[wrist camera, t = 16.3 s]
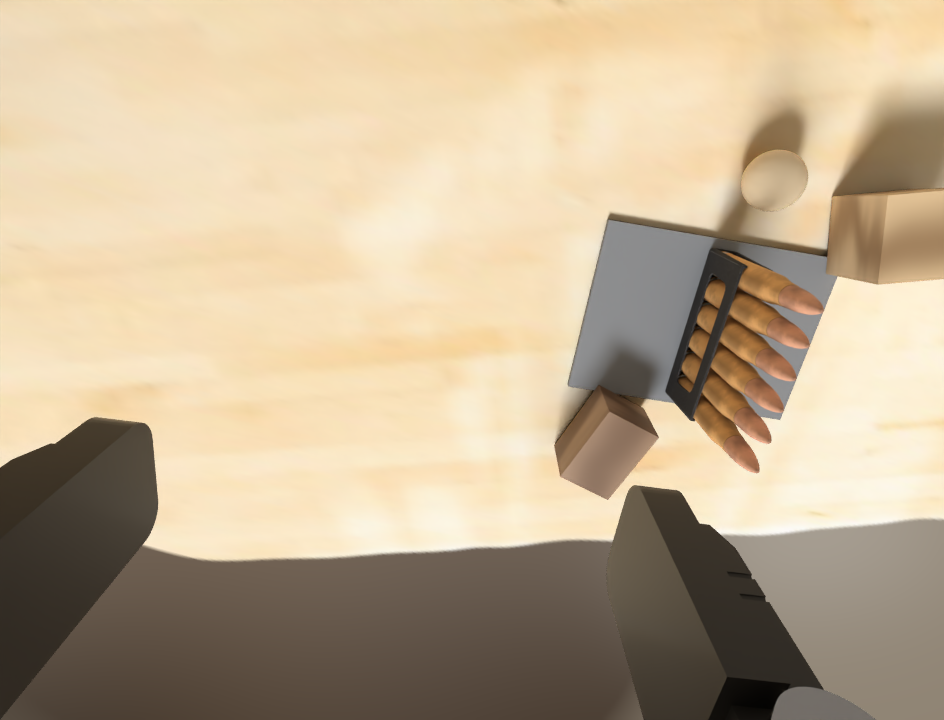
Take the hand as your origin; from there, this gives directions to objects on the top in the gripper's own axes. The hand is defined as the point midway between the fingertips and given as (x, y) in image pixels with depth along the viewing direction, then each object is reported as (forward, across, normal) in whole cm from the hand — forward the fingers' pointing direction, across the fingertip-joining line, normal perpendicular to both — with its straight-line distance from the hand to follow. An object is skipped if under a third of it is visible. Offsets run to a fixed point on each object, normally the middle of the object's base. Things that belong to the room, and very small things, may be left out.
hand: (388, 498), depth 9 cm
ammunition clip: (+29, -18, +4) cm, 34 cm away
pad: (+29, -18, +4) cm, 35 cm away
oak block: (+29, -27, -4) cm, 40 cm away
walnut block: (+29, -13, +13) cm, 34 cm away
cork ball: (+28, -19, -6) cm, 34 cm away
